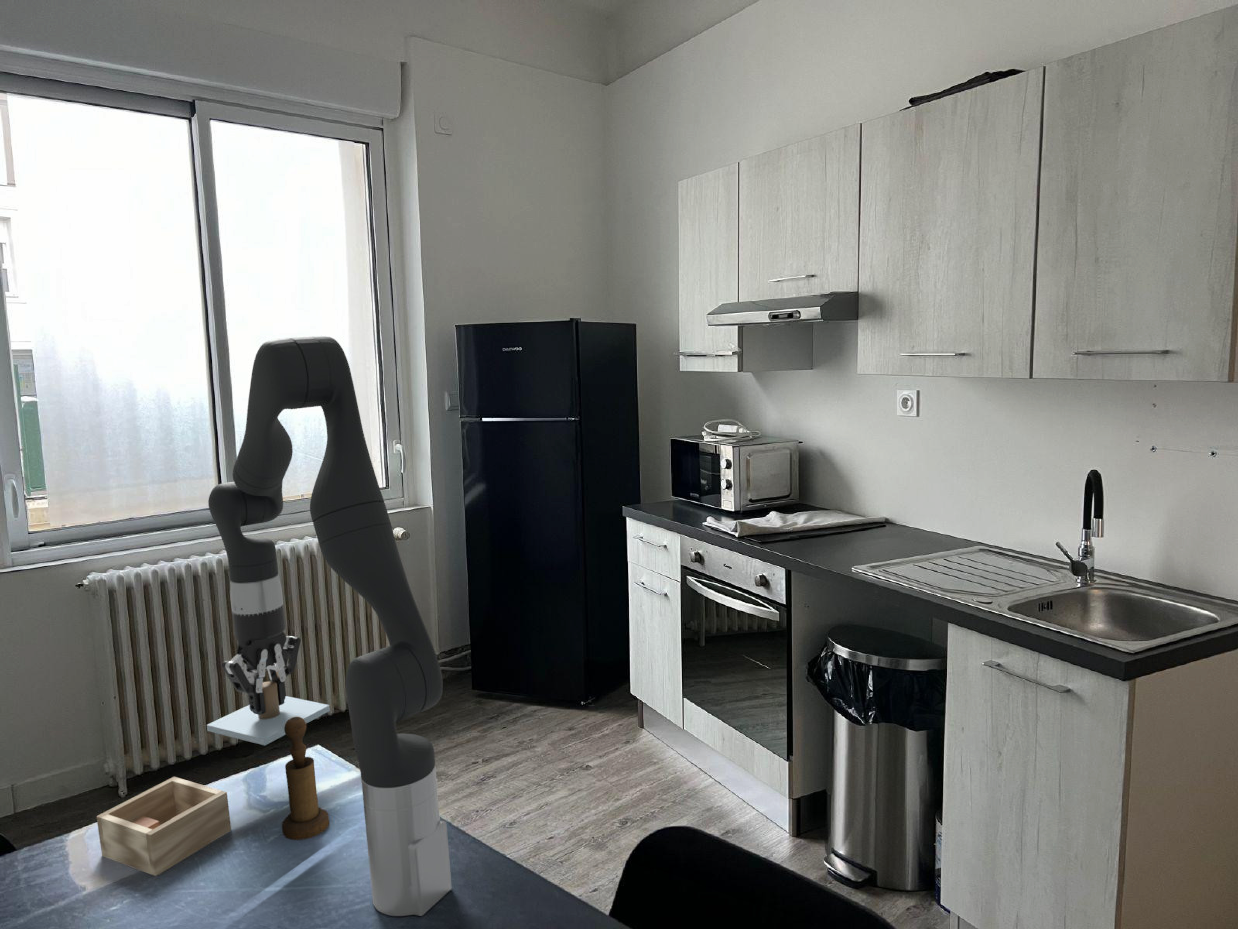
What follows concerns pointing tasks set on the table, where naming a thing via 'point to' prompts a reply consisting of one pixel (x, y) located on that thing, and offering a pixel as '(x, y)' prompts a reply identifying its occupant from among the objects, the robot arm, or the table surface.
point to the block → (147, 822)
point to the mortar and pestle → (301, 789)
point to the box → (164, 825)
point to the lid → (267, 717)
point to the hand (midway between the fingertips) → (268, 708)
